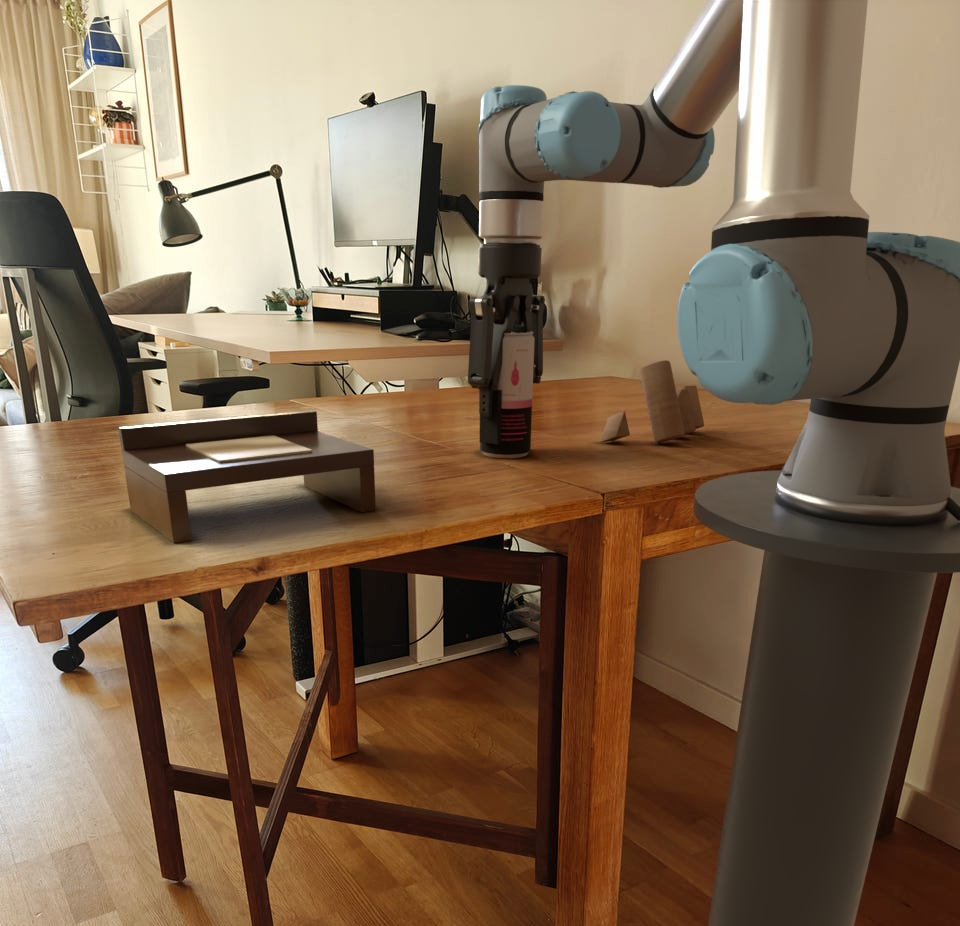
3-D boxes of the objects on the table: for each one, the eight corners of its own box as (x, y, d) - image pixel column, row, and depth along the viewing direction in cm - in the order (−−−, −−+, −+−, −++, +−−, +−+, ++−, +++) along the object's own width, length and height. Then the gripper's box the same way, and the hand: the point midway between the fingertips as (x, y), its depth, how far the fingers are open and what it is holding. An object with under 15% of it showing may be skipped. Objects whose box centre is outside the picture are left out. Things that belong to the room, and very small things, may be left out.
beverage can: (528, 449, 115) (533, 329, 109) (531, 459, 109) (536, 333, 103) (479, 448, 115) (481, 329, 109) (480, 458, 109) (481, 332, 103)
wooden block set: (681, 445, 131) (667, 378, 130) (729, 429, 124) (715, 358, 123) (602, 454, 120) (586, 381, 119) (650, 438, 113) (634, 360, 112)
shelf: (376, 510, 85) (373, 428, 82) (173, 543, 74) (161, 450, 71) (317, 484, 95) (312, 410, 92) (130, 510, 84) (117, 427, 81)
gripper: (525, 244, 111) (520, 425, 121) (435, 239, 96) (437, 446, 106) (577, 244, 108) (567, 431, 117) (491, 239, 93) (488, 454, 102)
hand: (505, 438), depth 111 cm, fingers closed on beverage can, 6 cm apart
